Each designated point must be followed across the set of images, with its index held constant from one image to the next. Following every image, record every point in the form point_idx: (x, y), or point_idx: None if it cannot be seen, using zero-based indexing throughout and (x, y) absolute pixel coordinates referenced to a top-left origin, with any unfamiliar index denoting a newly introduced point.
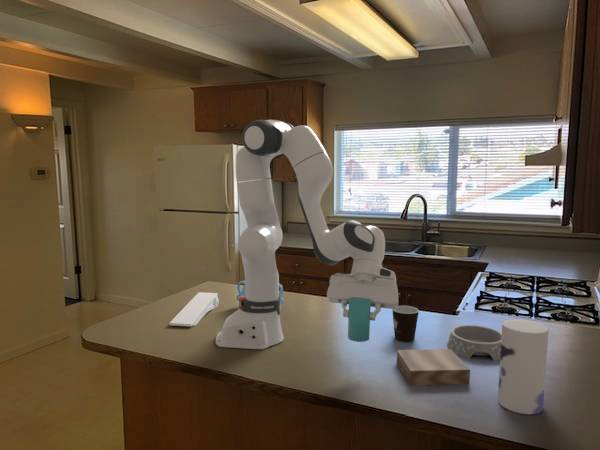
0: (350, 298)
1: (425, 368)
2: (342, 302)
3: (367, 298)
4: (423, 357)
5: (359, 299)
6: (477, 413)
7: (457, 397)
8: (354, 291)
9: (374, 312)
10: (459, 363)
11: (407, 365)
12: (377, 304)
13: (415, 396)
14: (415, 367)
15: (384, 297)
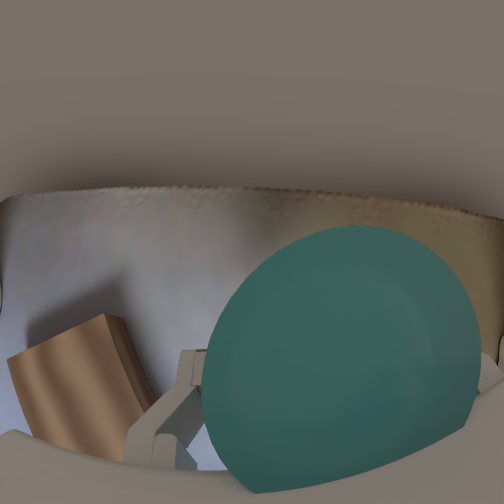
0: (472, 353)
1: (72, 341)
2: (486, 365)
3: (282, 490)
4: (88, 419)
5: (380, 387)
6: (28, 245)
7: (43, 293)
8: (485, 486)
9: (183, 386)
10: (22, 392)
11: (115, 349)
12: (152, 455)
13: (109, 265)
14: (94, 340)
15: (62, 499)
